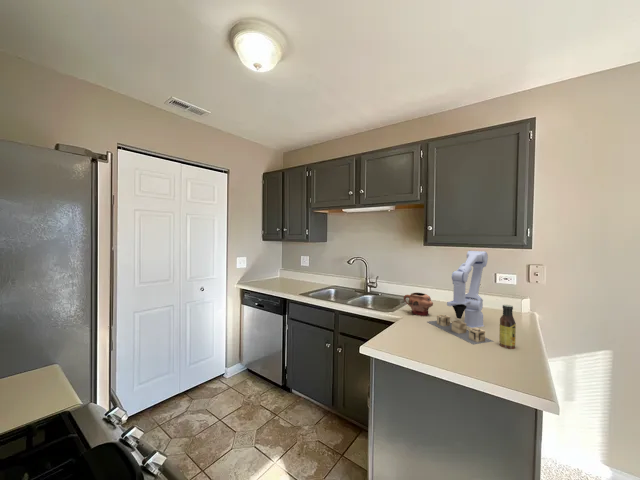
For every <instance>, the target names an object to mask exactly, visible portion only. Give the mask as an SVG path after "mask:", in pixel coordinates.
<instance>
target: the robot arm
mask: <svg viewBox="0 0 640 480" xmlns="http://www.w3.org/2000/svg"><path fill="white" fill-rule="evenodd" d="M488 258H489V255H488V253H487V251H482V250H481V251H480V250H479V251H477V250H468V251H467V252H466V260H465V262H463V263H461V264H460V265H459V267H458V268H457V269H456V270H455V271H453V272H452V274H451V281H452V285H453V296H452V297H453V299H452V300H450V301H447V302H446V306H448V307H452V308H453V310H454V313H455V316H456V319H460V320H461V319H462V318H463V315H464V323H466V327H469V328H481V327H484V314H483V311H482V310H483V301H484V299H483V298H482V297H481V296H480V295H479V291H480V286H481V281H482V275H483V272H484V271H483V270H484V268H486V267H487V264H488V260H489V259H488ZM471 271H472V273H471ZM470 273H471V277H470V278H471V280H470V283H469V284H470V285H469V288H468V289H469V290H468V292H466V283H467V282H468V279H469V275H470Z"/></svg>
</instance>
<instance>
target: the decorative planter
mask: <svg viewBox="0 0 640 480" xmlns="http://www.w3.org/2000/svg"><path fill="white" fill-rule="evenodd" d="M406 298H408V302H407V299H406ZM431 298H432V297H431V296H430V295H428V294H426V293H422V292H412V293H410V294H405V295H404V296H403V301H404V303H406V305H408V306H409V307H410V309H411V313H412V314H413V315H414V316H419V317H425V316H426V317H427V316H428V315H429V309H430V308H431V307H433V306H434V303H433V301H432V299H431Z"/></svg>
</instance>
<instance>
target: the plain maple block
mask: <svg viewBox="0 0 640 480" xmlns="http://www.w3.org/2000/svg"><path fill="white" fill-rule="evenodd" d="M451 323H452V331H454V332H456V333H458V334H460V333H466V329H467V326H466V323H465V321H464V322H463V321H462V320H453V321H451Z"/></svg>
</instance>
